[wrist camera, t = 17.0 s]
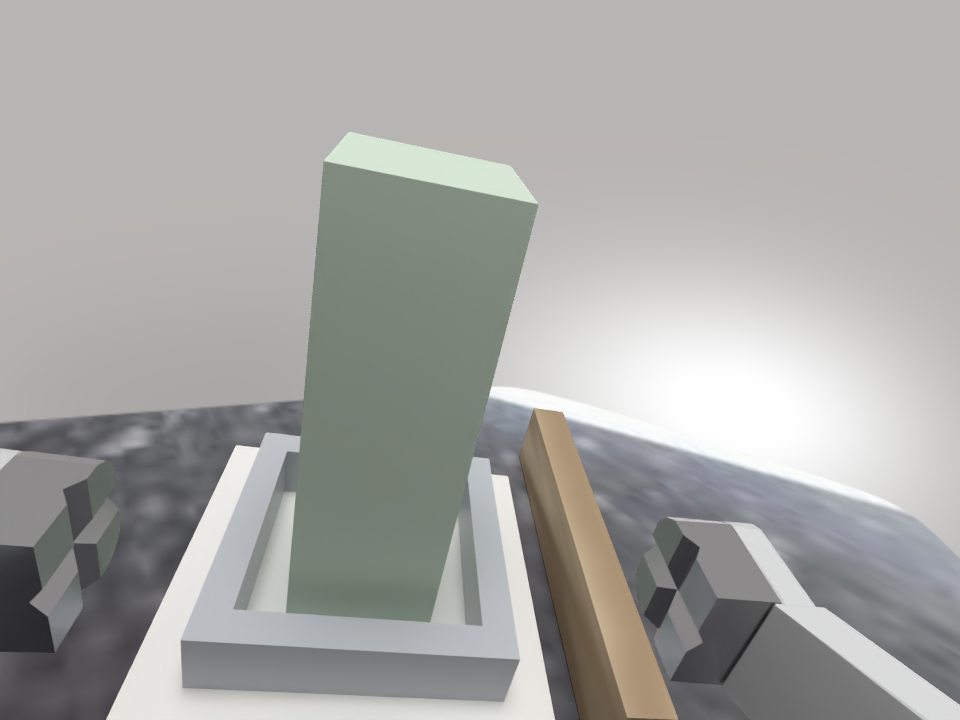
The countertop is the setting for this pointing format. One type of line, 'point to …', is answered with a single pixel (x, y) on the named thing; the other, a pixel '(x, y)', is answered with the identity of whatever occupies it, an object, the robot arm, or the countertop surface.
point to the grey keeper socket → (336, 620)
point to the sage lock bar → (398, 369)
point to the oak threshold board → (588, 584)
